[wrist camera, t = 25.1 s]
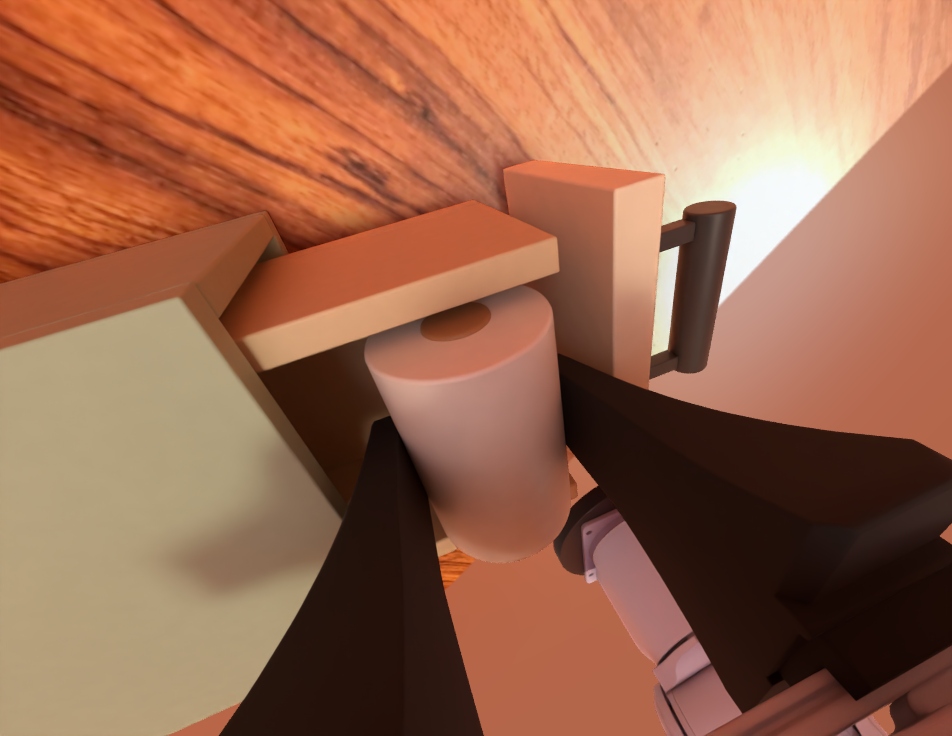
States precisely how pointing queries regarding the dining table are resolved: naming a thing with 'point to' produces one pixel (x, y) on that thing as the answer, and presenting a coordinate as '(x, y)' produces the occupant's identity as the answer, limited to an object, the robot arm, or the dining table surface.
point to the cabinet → (146, 492)
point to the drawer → (481, 294)
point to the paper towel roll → (482, 419)
